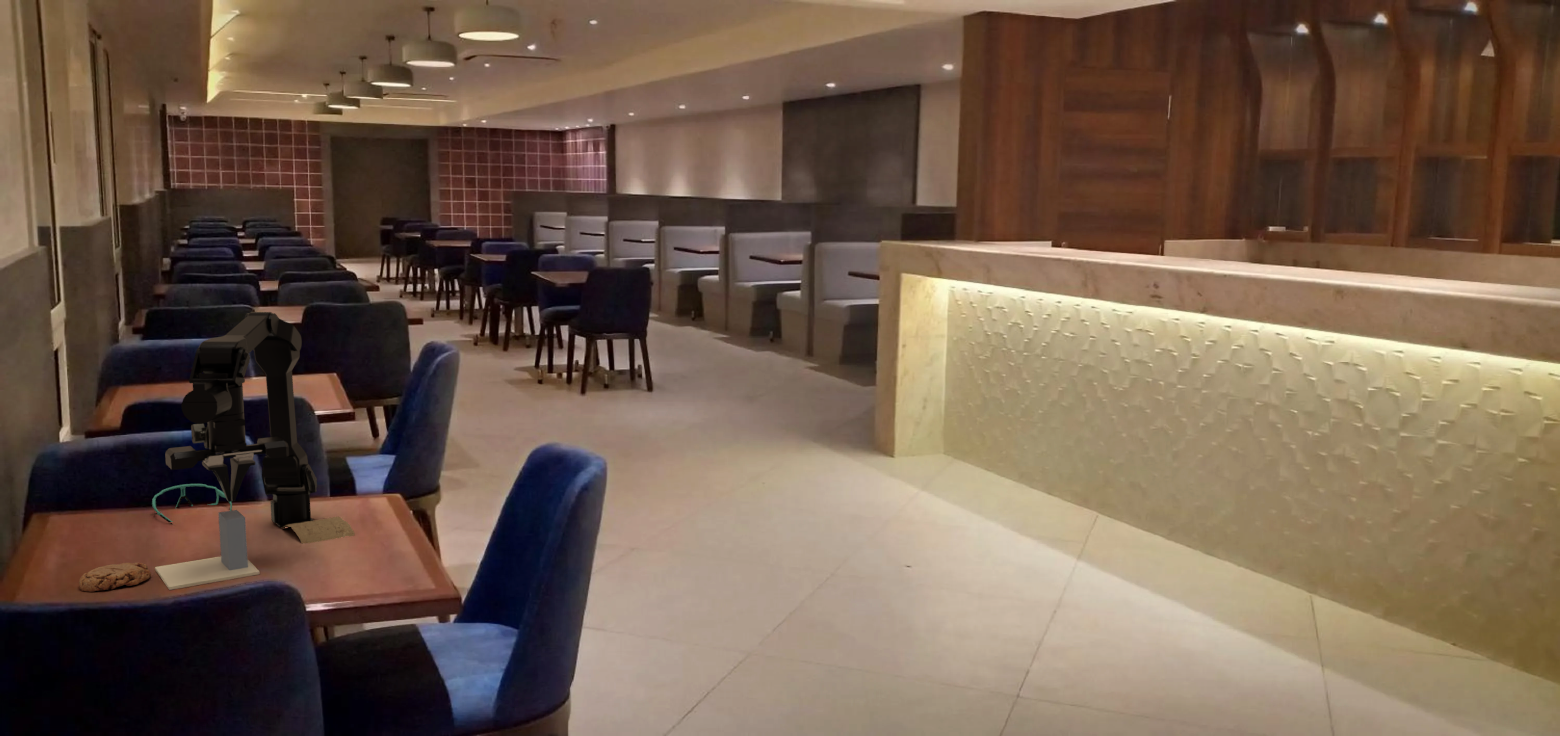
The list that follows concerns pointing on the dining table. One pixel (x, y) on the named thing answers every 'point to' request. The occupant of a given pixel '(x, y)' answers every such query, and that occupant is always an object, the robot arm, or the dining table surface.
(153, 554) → the dining table surface
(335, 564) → the dining table surface
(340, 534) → the clay tablet
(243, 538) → the blue-grey block
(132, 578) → the cookie
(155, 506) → the sunglasses
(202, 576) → the placemat
